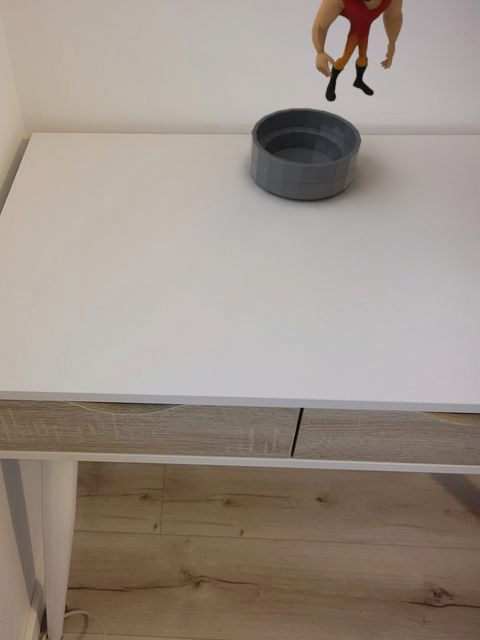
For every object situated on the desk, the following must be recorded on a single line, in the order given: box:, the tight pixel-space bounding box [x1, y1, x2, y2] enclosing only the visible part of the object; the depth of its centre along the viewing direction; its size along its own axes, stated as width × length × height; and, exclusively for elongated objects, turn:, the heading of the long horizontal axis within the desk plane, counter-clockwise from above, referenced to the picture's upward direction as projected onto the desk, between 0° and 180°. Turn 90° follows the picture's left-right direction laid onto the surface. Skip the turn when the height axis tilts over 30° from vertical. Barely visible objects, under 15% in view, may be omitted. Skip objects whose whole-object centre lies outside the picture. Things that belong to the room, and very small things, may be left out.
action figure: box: [311, 0, 404, 103], centre depth 60 cm, size 10×4×15 cm, turn 103°
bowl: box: [248, 107, 362, 200], centre depth 83 cm, size 14×14×6 cm
